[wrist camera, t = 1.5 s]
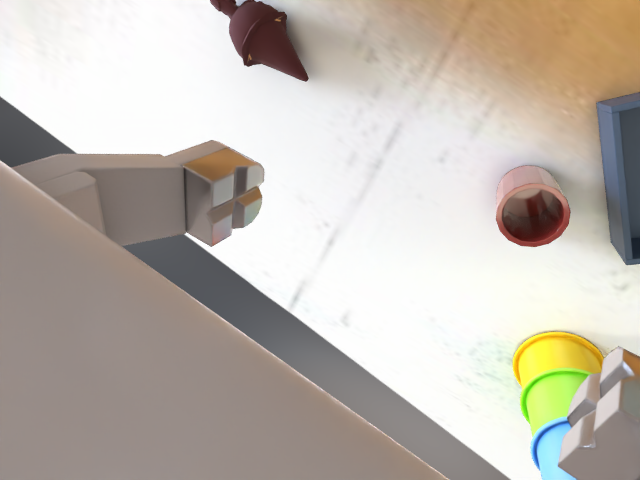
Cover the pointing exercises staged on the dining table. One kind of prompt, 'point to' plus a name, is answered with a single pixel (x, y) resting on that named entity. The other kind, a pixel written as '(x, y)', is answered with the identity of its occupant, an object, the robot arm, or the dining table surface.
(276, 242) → the dining table surface
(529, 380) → the stacking cups
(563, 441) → the robot arm
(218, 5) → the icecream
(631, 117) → the tote
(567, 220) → the canister
